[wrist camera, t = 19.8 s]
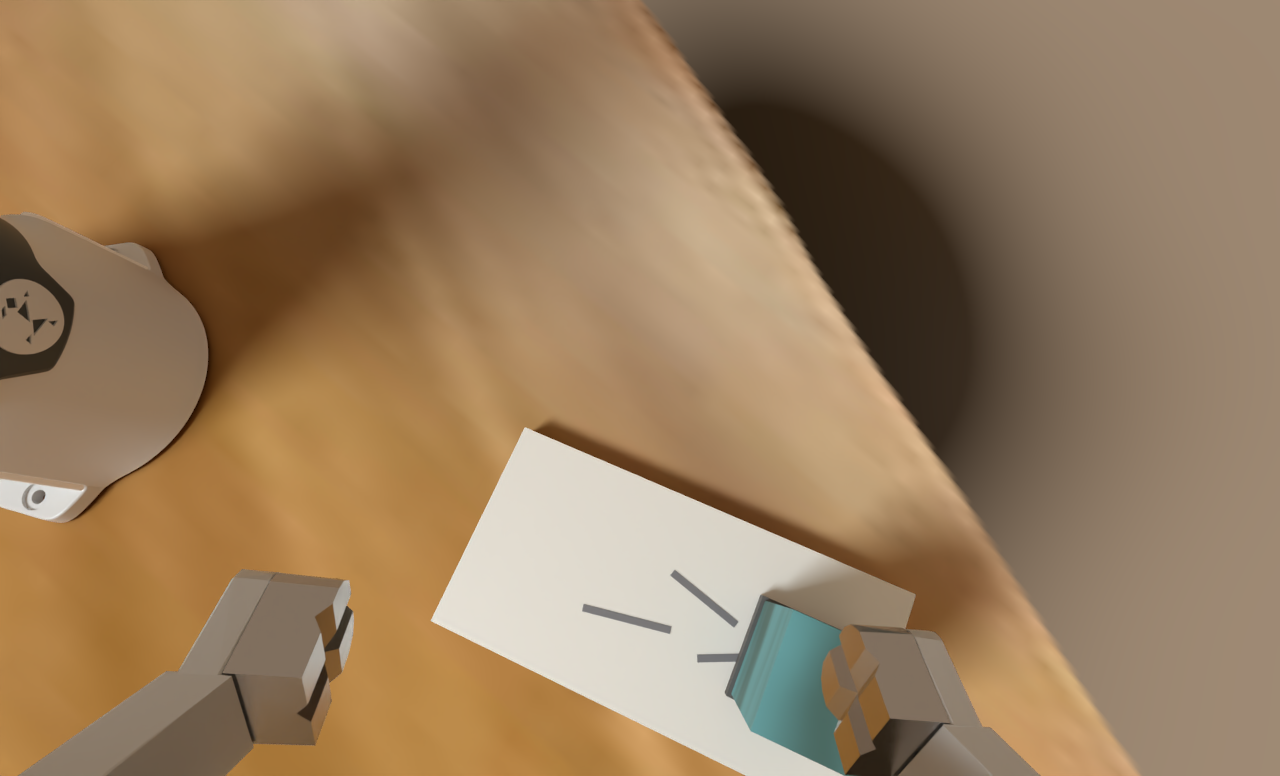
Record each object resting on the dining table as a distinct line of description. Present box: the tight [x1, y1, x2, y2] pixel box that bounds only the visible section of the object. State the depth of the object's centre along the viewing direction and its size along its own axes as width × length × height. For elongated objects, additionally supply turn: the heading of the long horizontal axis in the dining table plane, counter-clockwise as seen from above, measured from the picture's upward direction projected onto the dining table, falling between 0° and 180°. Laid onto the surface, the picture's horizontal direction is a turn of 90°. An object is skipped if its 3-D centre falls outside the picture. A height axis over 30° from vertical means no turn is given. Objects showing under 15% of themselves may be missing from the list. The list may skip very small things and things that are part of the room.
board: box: [431, 428, 916, 776], centre depth 36 cm, size 24×12×2 cm, turn 67°
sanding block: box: [725, 595, 853, 776], centre depth 30 cm, size 5×5×9 cm
